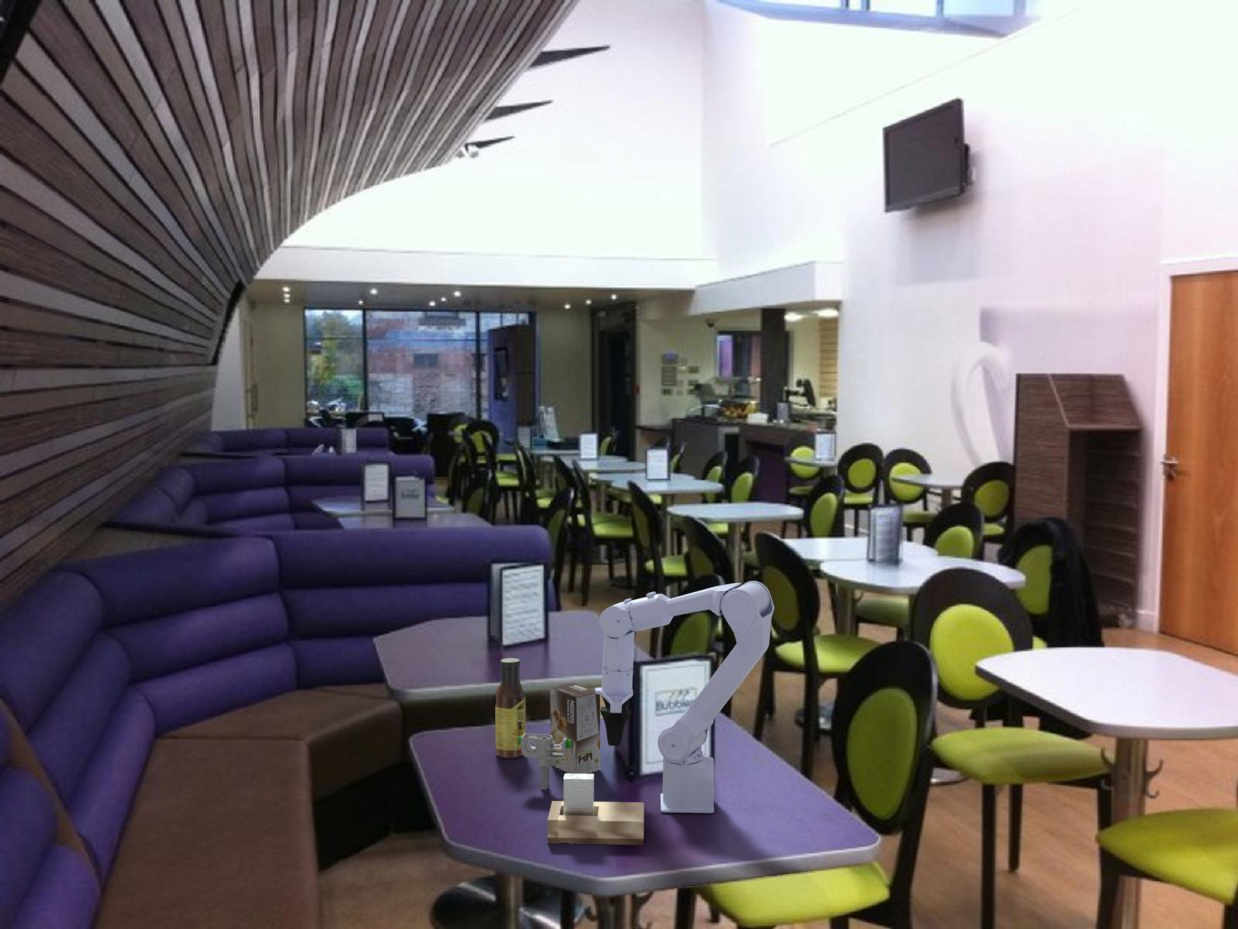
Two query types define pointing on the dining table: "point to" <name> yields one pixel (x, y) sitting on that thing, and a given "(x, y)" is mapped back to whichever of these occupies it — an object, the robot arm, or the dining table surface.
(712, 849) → the dining table surface
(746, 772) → the dining table surface
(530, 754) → the mechanical component
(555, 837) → the slotted wooden block
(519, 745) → the sauce bottle
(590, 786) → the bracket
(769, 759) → the dining table surface
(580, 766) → the coffee box
